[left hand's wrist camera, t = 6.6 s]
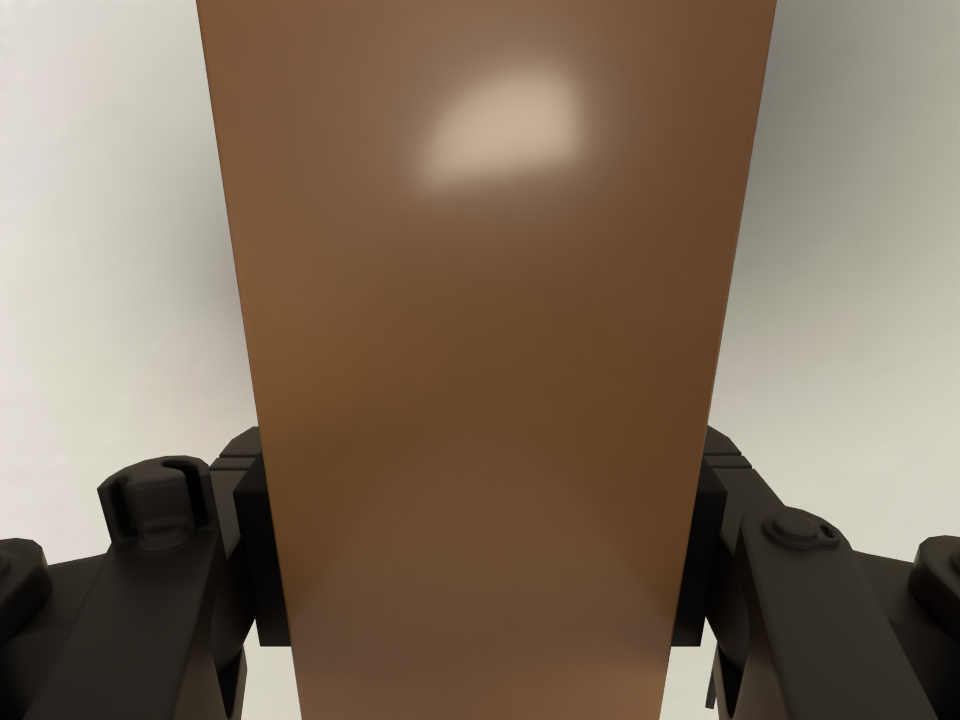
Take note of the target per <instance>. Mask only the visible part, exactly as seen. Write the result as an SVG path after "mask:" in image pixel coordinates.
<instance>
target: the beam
mask: <svg viewBox="0 0 960 720" xmlns="http://www.w3.org/2000/svg"><path fill="white" fill-rule="evenodd" d="M776 2H777V0H196V4H197V11H198V18H199V24H200V31H201V38H202V45H203V52H204V58H205V65H206V72H207V79H208V85H209V92H210V99H211V106H212V113H213V119H214V126H215V133H216V140H217V147H218V153H219V160H220V167H221V174H222V181H223V187H224V194H225V201H226V208H227V214H228V221H229V228H230V235H231V242H232V248H233V255H234V262H235V269H236V276H237V282H238V289H239V296H240V303H241V309H242V316H243V323H244V330H245V337H246V343H247V350H248V357H249V364H250V371H251V377H252V384H253V391H254V398H255V405H256V411H257V418H258V425H259V432H260V438H261V445H262V452H263V459H264V466H265V472H266V479H267V486H268V493H269V500H270V506H271V513H272V520H273V527H274V533H275V540H276V547H277V554H278V561H279V567H280V574H281V581H282V588H283V595H284V601H285V608H286V615H287V622H288V629H289V635H290V642H291V649H292V656H293V662H294V669H295V676H296V683H297V690H298V696H299V703H300V710H301V717H302V720H659V717H660V711H661V705H662V699H663V693H664V687H665V681H666V674H667V668H668V662H669V656H670V650H671V644H672V638H673V632H674V626H675V619H676V613H677V607H678V601H679V595H680V589H681V583H682V577H683V571H684V564H685V558H686V552H687V546H688V540H689V534H690V528H691V522H692V515H693V509H694V503H695V497H696V491H697V485H698V479H699V473H700V467H701V460H702V454H703V448H704V442H705V436H706V430H707V424H708V418H709V412H710V405H711V399H712V393H713V387H714V381H715V375H716V369H717V363H718V357H719V350H720V344H721V338H722V332H723V326H724V320H725V314H726V308H727V302H728V295H729V289H730V283H731V277H732V271H733V265H734V259H735V253H736V247H737V240H738V234H739V228H740V222H741V216H742V210H743V204H744V198H745V191H746V185H747V179H748V173H749V167H750V161H751V155H752V149H753V143H754V136H755V130H756V124H757V118H758V112H759V106H760V100H761V94H762V88H763V81H764V75H765V69H766V63H767V57H768V51H769V45H770V39H771V33H772V26H773V20H774V14H775V8H776Z"/></svg>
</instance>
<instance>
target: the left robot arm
mask: <svg viewBox="0 0 960 720" xmlns="http://www.w3.org/2000/svg"><path fill="white" fill-rule="evenodd" d="M97 491H98V495H99V498H100V502H101V506H102V509H103V513H104V516H105V520H106V524H107V527H108V531H109V534H110V538H111V542H112V543H111V545H110V547H109V549H108V551H107V553H105V554H101V555H97V556H93V557H88V558H83V559H78V560H73V561H68V562H63V563H58V564H53V565H48V564H47V561H46V558H45V555H44V552H43V549H42V547H41V546H40V545H38V544H37V543H36V542H35V541H33V540H28V539H21V538H11V539H3V540H0V720H241V714H242V707H243V699H244V691H245V683H246V676H247V663H246V656H245V651H244V646H243V643H244V641H245V639H246V637H247V635H248V632H249V630H250V628H251V626H252V624H253V622H254V620H256V626H257V631H258V637H259V642H260V646H291V642H290V635H289V629H288V622H287V615H286V608H285V601H284V595H283V588H282V581H281V574H280V567H279V561H278V554H277V547H276V540H275V533H274V527H273V520H272V513H271V506H270V500H269V493H268V486H267V479H266V472H265V466H264V459H263V452H262V445H261V438H260V432H259V427H252V428H250V429H248V430H247V431H245V432H244V433H242V434H240V435H239V436H237V437H235V438H234V439H232V440H231V441H230V443H229V444H228V445H227V446H226V447H225V449H224V450H223V451H222V452H221V454H220V455H219V458H216V460H215V461H214V462H213V463H212V465H211V466H210V467H209V465H208V464H206V463H205V462H204V461H203V460H201V459H200V458H195V457H190V456H185V455H183V456H164V457H159V458H154V459H149V460H145V461H142V462H139V463H136V464H134V465H131V466H128V467H125V468H123V469H122V470H120V471H118V472H117V473H115V474H113V475H111V476H110V477H108V478H107V479H106V480H105V481H104V482H103V483H102V484H101V485H100V486H99V487H98V488H97ZM705 617H706V618H707V620H708V622H709V624H710V626H711V629H712V631H713V633H714V635H715V637H716V639H717V646H716V651H715V656H714V661H713V666H712V672H711V677H710V682H709V687H708V692H707V699H706V706H705V708H710V709H714V704H715V699H716V698H717V705H718V713H719V720H960V537H955V536H947V535H943V536H936V537H929V538H927V539H926V540H925V541H923V542H922V543H921V544H920V545H919V548H918V551H917V554H916V557H915V560H914V563H911V562H906V561H901V560H896V559H891V558H886V557H881V556H876V555H871V554H866V553H862V552H858V551H854V550H852V548H851V546H850V544H849V542H848V540H847V539H846V538H845V537H844V536H843V534H842V533H841V532H840V531H839V529H837V528H836V527H834V526H833V525H831V524H830V523H828V522H827V521H826V520H824V519H823V518H820V517H818V516H816V515H813V514H811V513H809V512H806V511H804V510H801V509H797V508H792V507H788V506H785V505H784V504H783V503H782V501H781V500H780V499H779V498H778V497H777V495H776V494H775V493H774V492H773V491H772V489H771V488H770V487H769V486H768V485H767V483H766V482H765V481H764V480H763V478H762V477H761V476H760V475H759V474H758V472H757V471H756V470H755V469H752V465H751V464H750V463H749V461H748V460H747V459H746V458H745V457H744V456H742V455H741V452H740V451H739V449H738V448H737V447H736V446H735V445H734V443H733V442H732V441H731V440H730V438H729V437H727V436H725V435H724V434H722V433H720V432H719V431H717V430H715V429H714V428H712V427H710V426H709V425H707V430H706V436H705V442H704V448H703V454H702V460H701V467H700V473H699V479H698V485H697V491H696V497H695V503H694V509H693V515H692V522H691V528H690V534H689V540H688V546H687V552H686V558H685V564H684V571H683V577H682V583H681V589H680V595H679V601H678V607H677V613H676V619H675V626H674V632H673V638H672V644H671V647H700V644H701V639H702V633H703V628H704V622H705Z"/></svg>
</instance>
